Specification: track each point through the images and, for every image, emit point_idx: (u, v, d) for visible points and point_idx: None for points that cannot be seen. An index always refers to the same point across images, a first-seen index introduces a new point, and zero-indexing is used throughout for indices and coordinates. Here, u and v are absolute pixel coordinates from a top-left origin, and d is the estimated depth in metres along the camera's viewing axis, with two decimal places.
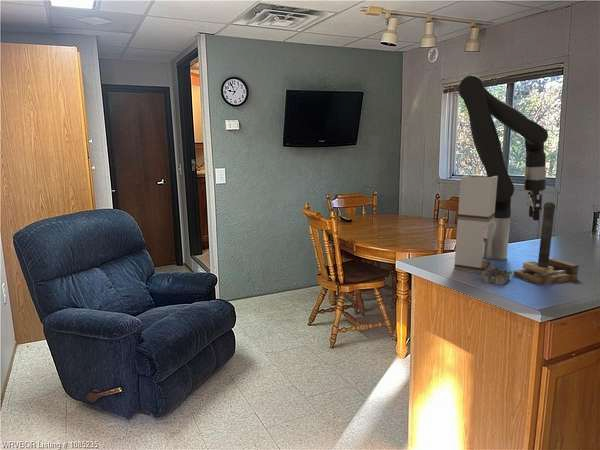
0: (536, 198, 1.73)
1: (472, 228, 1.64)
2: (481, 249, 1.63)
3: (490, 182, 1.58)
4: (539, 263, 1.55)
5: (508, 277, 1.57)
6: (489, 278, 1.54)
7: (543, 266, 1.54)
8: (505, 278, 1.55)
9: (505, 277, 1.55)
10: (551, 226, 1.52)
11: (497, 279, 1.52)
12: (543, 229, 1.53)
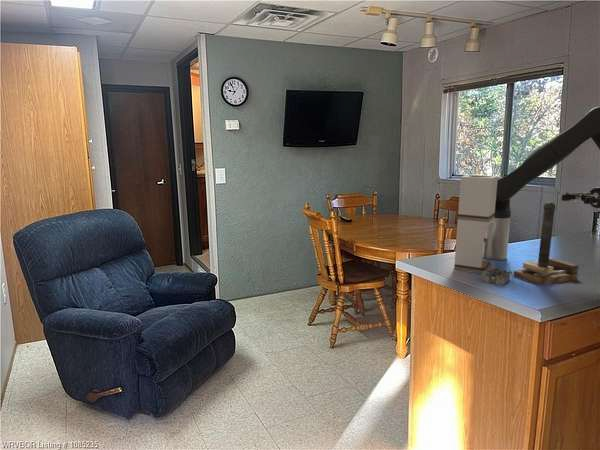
0: None
1: (472, 228, 1.64)
2: (481, 249, 1.63)
3: (490, 182, 1.58)
4: (539, 263, 1.55)
5: (508, 277, 1.57)
6: (490, 278, 1.54)
7: (543, 266, 1.54)
8: (505, 278, 1.55)
9: (505, 277, 1.55)
10: (551, 226, 1.52)
11: (498, 279, 1.52)
12: (543, 229, 1.53)
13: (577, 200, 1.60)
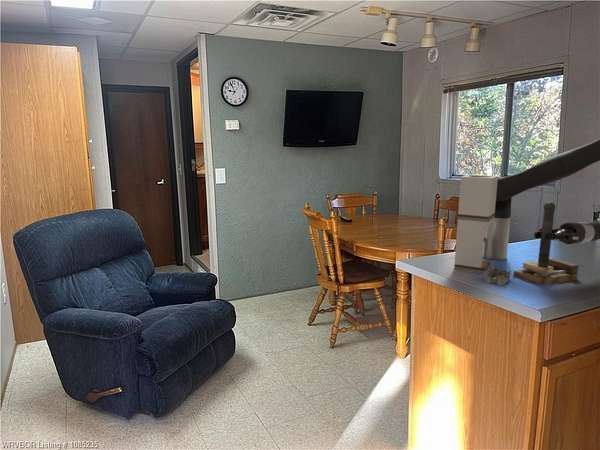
0: (574, 236, 1.50)
1: (472, 228, 1.64)
2: (481, 249, 1.63)
3: (490, 182, 1.58)
4: (539, 263, 1.55)
5: (508, 277, 1.57)
6: (491, 278, 1.54)
7: (543, 266, 1.54)
8: (506, 278, 1.55)
9: (506, 277, 1.55)
10: (551, 226, 1.52)
11: (499, 279, 1.52)
12: (543, 229, 1.53)
13: None
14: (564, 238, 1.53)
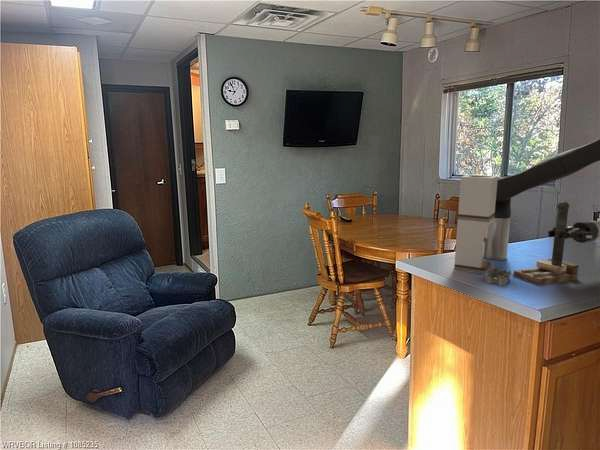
0: (588, 235, 1.52)
1: (472, 228, 1.64)
2: (481, 249, 1.63)
3: (490, 182, 1.58)
4: (553, 261, 1.57)
5: (508, 277, 1.57)
6: (492, 279, 1.54)
7: (557, 264, 1.57)
8: (507, 278, 1.55)
9: (507, 277, 1.55)
10: (565, 225, 1.54)
11: (500, 279, 1.52)
12: (557, 228, 1.55)
13: None
14: (577, 237, 1.56)
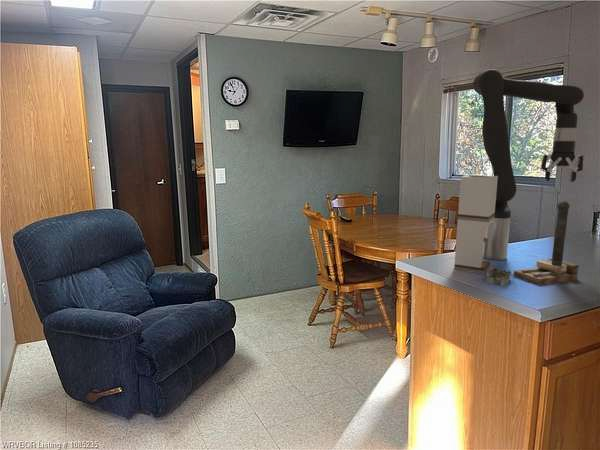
0: None
1: (472, 228, 1.64)
2: (481, 249, 1.63)
3: (490, 182, 1.58)
4: (553, 261, 1.57)
5: None
6: (494, 279, 1.53)
7: (557, 264, 1.57)
8: None
9: (508, 277, 1.55)
10: (565, 225, 1.54)
11: (503, 280, 1.51)
12: (557, 228, 1.55)
13: None
14: None
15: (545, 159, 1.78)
